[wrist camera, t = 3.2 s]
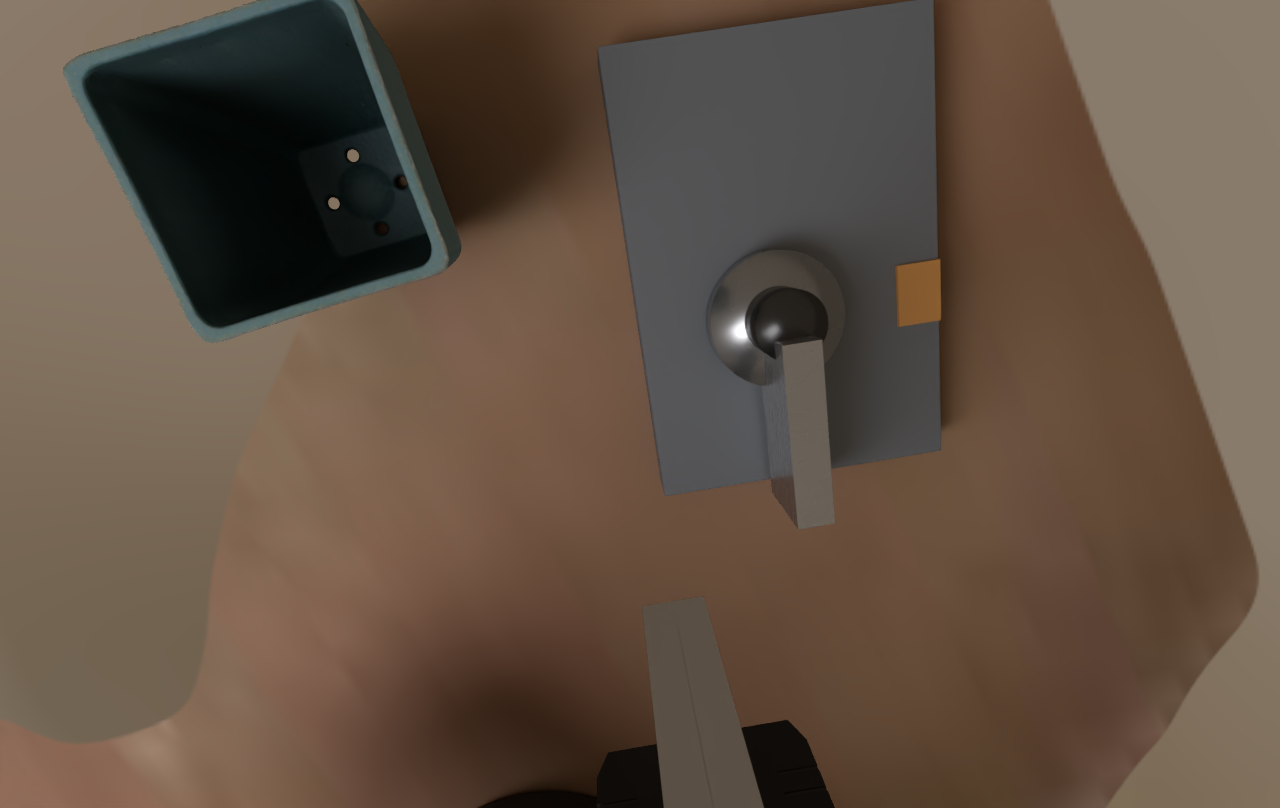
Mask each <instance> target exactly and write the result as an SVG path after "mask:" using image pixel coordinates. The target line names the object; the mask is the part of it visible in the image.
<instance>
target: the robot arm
mask: <svg viewBox="0 0 1280 808" xmlns="http://www.w3.org/2000/svg"><path fill="white" fill-rule="evenodd" d="M642 612H643V621H644V630H645V639H646V649H647V658H648V667H649V676H650V685H651V694H652V703H653V712H654V722H655V731H656V740H657V744H655V745H649V746H643V747H637V748H632V749H626V750H620V751H614V752H608V754H607V756H606V758H605V761H604V763H603V765H602V768H601V770H600V772H599V775H598V777H597V799H595V798H592V797H588V796H584V795H579V794H573V793H563V792H539V793H530V794H523V795H518V796H514V797H510V798H506V799H503V800H500V801H497V802H495V803H492V804H490V805H487V806H485V807H483V808H835V807H834V805H833V803H832V800H831V798H830V795H829V793H828V791H827V790H826V786H825V783H824V781H823V778H822V776H821V773H820V771H819V770H818V767H817V764H816V761H815V759H814V756H813V754H812V751H811V749H810V747H809V744H808V742H807V739H806V738H805V737H804V736H803V735H802V734H801V733H800V732H799V731H798V730H797V729H796V728H795V727H794V726H793V725H792V724H791V723H790V722H789V721H788V720H784V721H778V722H772V723H766V724H761V725H755V726H749V727H743V728H741V726H740V722H739V719H738V715H737V712H736V708H735V705H734V701H733V698H732V694H731V691H730V687H729V684H728V680H727V677H726V673H725V670H724V666H723V663H722V659H721V656H720V653H719V649H718V646H717V642H716V639H715V635H714V632H713V628H712V625H711V621H710V618H709V614H708V611H707V607H706V604H705V600H704V597H703V596H701V597H695V598H689V599H683V600H677V601H671V602H665V603H659V604H653V605H647V606H642Z"/></svg>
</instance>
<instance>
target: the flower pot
mask: <svg viewBox="0 0 1280 808" xmlns="http://www.w3.org/2000/svg"><path fill="white" fill-rule="evenodd" d="M63 74H64V77H65V79H66V81H67V84H68V87H69V89H70V90H71V93H72V96H73V98H74V100H75V101H76V103H77V105H78V106H79V108H80V111H81V113H82V114H83V116H84V119H85V121H86V123H87V124H88V126H89V128H90V129H91V132H92V134H93V136H94V138H95V140H96V142H97V143H98V145H99V146H100V149H101V151H102V152H103V153H104V155H105V157H106V159H107V162H108V163H109V165H110V167H111V168H112V170H113V172H114V174H115V177H116V179H117V180H118V182H119V184H120V186H121V188H122V190H123V192H124V194H125V195H126V198H127V200H128V201H129V203H130V206H131V208H132V209H133V211H134V213H135V215H136V218H137V220H138V221H139V223H140V225H141V227H142V229H143V231H144V233H145V235H146V236H147V239H148V241H149V243H150V245H151V247H152V249H153V251H154V252H155V255H156V257H157V258H158V260H159V262H160V264H161V266H162V268H163V270H164V273H165V274H166V276H167V278H168V280H169V282H170V284H171V287H172V288H173V290H174V292H175V294H176V297H177V299H178V301H179V303H180V305H181V307H182V309H183V311H184V314H185V316H186V318H187V320H188V322H189V324H190V325H191V327H192V328H193V330H194V331H195V332H196V334H197V335H198V336H199V337H201V339H202V340H204V341H205V342H210V343H214V342H220V341H224V340H228V339H231V338H234V337H237V336H239V335H242V334H244V333H248V332H251V331H254V330H257V329H260V328H264V327H267V326H270V325H273V324H277V323H279V322H282V321H285V320H288V319H291V318H294V317H298V316H301V315H304V314H307V313H310V312H313V311H317V310H320V309H324V308H327V307H330V306H333V305H336V304H340V303H343V302H346V301H349V300H352V299H356V298H359V297H362V296H366V295H369V294H372V293H375V292H379V291H382V290H386V289H389V288H393V287H396V286H399V285H403V284H406V283H410V282H414V281H418V280H421V279H425V278H428V277H431V276H434V275H437V274H440V273H441V272H443V271H444V270H445V269H447V268H448V267H449V266H450V265H451V264H452V263H453V262H455V261H456V259H457V258H458V257H459V255H460V252H461V242H460V239H459V235H458V233H457V230H456V227H455V225H454V222H453V219H452V217H451V214H450V211H449V209H448V206H447V203H446V201H445V198H444V195H443V192H442V190H441V187H440V184H439V182H438V179H437V176H436V173H435V171H434V168H433V165H432V163H431V160H430V157H429V154H428V152H427V149H426V146H425V143H424V141H423V138H422V135H421V132H420V130H419V127H418V124H417V121H416V119H415V116H414V113H413V110H412V108H411V105H410V102H409V99H408V96H407V93H406V91H405V88H404V85H403V82H402V79H401V76H400V74H399V71H398V68H397V66H396V63H395V61H394V59H393V57H392V55H391V53H390V51H389V49H388V48H387V46H386V44H385V43H384V41H383V40H382V38H381V37H380V35H379V34H378V32H377V30H376V29H375V27H374V26H373V24H372V23H371V21H370V20H369V18H368V17H367V15H366V14H365V12H364V10H363V9H362V7H361V6H360V4H359V3H358V1H357V0H257V1H255V2H251V3H248V4H244V5H242V6H240V7H235V8H233V9H231V10H228V11H223V12H220V13H216V14H214V15H212V16H208V17H204V18H202V19H199V20H197V21H192V22H189V23H186V24H183V25H179V26H174V27H171V28H168V29H166V30H161V31H158V32H153V33H151V34H148V35H144V36H141V37H138V38H136V39H131V40H127V41H124V42H121V43H118V44H114V45H111V46H107V47H104V48H100V49H97V50H93V51H90V52H87V53H83V54H81V55H79V56H77V57H75V58H74V59H72V60H70V61H69V62H68V63H67V64H66V65H65V66H64V68H63ZM351 149H354V150H356V151H357V152H358V153H359V159H358V161H356V162H351V161H350V160H349V159H348V158H347V153H348V151H349V150H351ZM399 176H403V177H405V178H406V180H407V186H406V187H405V188H399V187H398V186H397V184H396V179H397V178H398V177H399ZM331 197H335V198H337V199H338V200H339V202H340V206H339V208H338V209H331V208H330V207H329V205H328V200H329V199H330V198H331ZM380 223H384V224H385V225H387V227H388V231H387V233H386V234H383V235H382V234H379V233H378V232H377V225H378V224H380Z"/></svg>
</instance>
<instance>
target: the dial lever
mask: <svg viewBox="0 0 1280 808" xmlns="http://www.w3.org/2000/svg"><path fill="white" fill-rule="evenodd" d="M844 323H845V305H844V299H843V295H842V292H841V289H840V287H839V284H838V283H837V281H836V279H835V278H834V276H833V275H832V274H831V272H830V271H829V270H828V269H827V268H826V267H825V266H824V265H823V264H822V263H820V262H819V261H817V260H816V259H814V258H813V257H811V256H809V255H806V254H803V253H800V252H796V251H791V250H764V251H760V252H756V253H753V254H750V255H748V256H746V257H744V258H742V259H740V260H738V261H737V262H736V263H734V264H733V265H732V266H731V267H729V268H728V269H727V270H726V271H725V272H724V273H723V275H722V276H721V277H720V278H719V280H718V281H717V283H716V284H715V286H714V288H713V290H712V292H711V295H710V298H709V301H708V305H707V310H706V329H707V334H708V338H709V341H710V344H711V346H712V348H713V350H714V352H715V353H716V355H717V356H718V358H719V359H720V360H721V361H722V362H723V363H724V365H726V366H727V367H728V368H729V369H730V370H731V371H732V372H733V373H734V374H736V375H737V376H739V377H740V378H742V379H743V380H746V381H748V382H750V383H753V384H756V385H760V386H762V395H763V405H764V415H765V426H766V436H767V446H768V456H769V466H770V476H771V487H772V493H773V494H774V496H775V497H776V499H777V500H778V501H779V503H780V504H781V506H782V507H783V509H784V510H785V511H786V513H787V514H788V516H789V517H790V519H791V520H792V522H793V523H794V524H795V526H796V527H797V529H798V530H799V529H805V528H811V527H817V526H822V525H828V524H834V523H835V518H834V503H833V489H832V475H831V460H830V446H829V431H828V417H827V402H826V388H825V373H824V364H825V363H826V362H827V361H828V360H829V359H830V357H831V356H832V354H833V353H834V351H835V349H836V348H837V346H838V344H839V341H840V339H841V336H842V333H843V329H844Z"/></svg>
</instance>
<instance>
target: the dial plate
mask: <svg viewBox="0 0 1280 808" xmlns="http://www.w3.org/2000/svg"><path fill="white" fill-rule="evenodd" d="M598 66H599V73H600V79H601V86H602V93H603V99H604V106H605V113H606V119H607V126H608V132H609V139H610V146H611V152H612V159H613V166H614V172H615V179H616V185H617V192H618V199H619V205H620V212H621V219H622V225H623V232H624V238H625V245H626V252H627V258H628V265H629V271H630V278H631V285H632V291H633V298H634V305H635V311H636V318H637V324H638V331H639V338H640V344H641V351H642V358H643V364H644V371H645V377H646V384H647V391H648V397H649V404H650V411H651V417H652V424H653V430H654V437H655V444H656V450H657V457H658V463H659V470H660V477H661V482H662V486H663V490H664V494H665V496H669V495H675V494H681V493H687V492H693V491H699V490H705V489H711V488H717V487H723V486H729V485H735V484H741V483H747V482H753V481H759V480H765V479H771V476H770V466H769V456H768V446H767V436H766V426H765V415H764V405H763V395H762V386H760V385H756V384H753V383H750V382H748V381H746V380H743V379H742V378H740V377H739V376H737V375H736V374H734V373H733V372H732V371H731V370H730V369H729V368H728V367H727V366H726V365H724V363H723V362H722V361H721V360H720V359H719V358H718V356H717V355H716V353H715V352H714V350H713V348H712V346H711V344H710V341H709V338H708V334H707V329H706V310H707V305H708V301H709V298H710V295H711V292H712V290H713V288H714V286H715V284H716V283H717V281H718V280H719V278H720V277H721V276H722V275H723V273H724V272H725V271H726V270H727V269H728V268H729V267H731V266H732V265H733V264H734V263H736V262H737V261H738V260H740V259H742V258H744V257H746V256H748V255H750V254H753V253H756V252H760V251H764V250H791V251H796V252H800V253H803V254H806V255H809V256H811V257H813V258H814V259H816V260H817V261H819V262H820V263H822V264H823V265H824V266H825V267H826V268H827V269H828V270H829V271H830V272H831V274H832V275H833V276H834V278H835V279H836V281H837V283H838V284H839V287H840V289H841V292H842V295H843V299H844V305H845V323H844V329H843V333H842V336H841V339H840V341H839V344H838V346H837V348H836V349H835V351H834V353H833V354H832V356H831V357H830V359H829V360H828V361H827V362H826V363H825V364H824V373H825V388H826V402H827V417H828V431H829V446H830V460H831V468H837V467H843V466H849V465H855V464H861V463H867V462H873V461H879V460H885V459H891V458H898V457H904V456H910V455H916V454H922V453H928V452H934V451H940V450H941V415H940V355H939V320H941V272H940V259H938V234H937V174H936V114H935V54H934V0H913V1H906V2H899V3H893V4H886V5H879V6H872V7H865V8H859V9H852V10H845V11H838V12H831V13H825V14H818V15H811V16H804V17H798V18H791V19H784V20H777V21H770V22H764V23H757V24H750V25H743V26H736V27H730V28H723V29H716V30H709V31H703V32H696V33H689V34H682V35H675V36H669V37H662V38H655V39H648V40H641V41H635V42H628V43H621V44H614V45H608V46H601V47H598Z"/></svg>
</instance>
